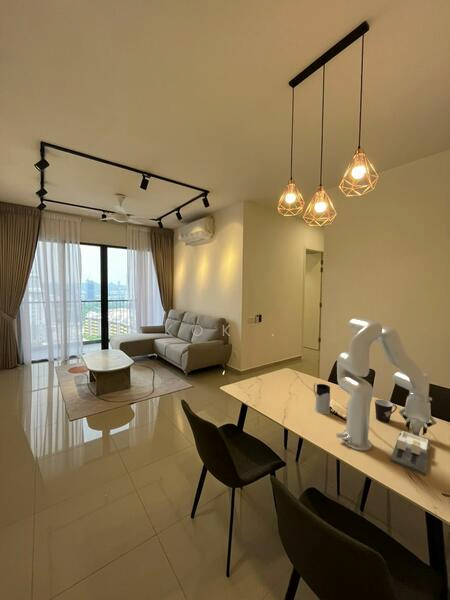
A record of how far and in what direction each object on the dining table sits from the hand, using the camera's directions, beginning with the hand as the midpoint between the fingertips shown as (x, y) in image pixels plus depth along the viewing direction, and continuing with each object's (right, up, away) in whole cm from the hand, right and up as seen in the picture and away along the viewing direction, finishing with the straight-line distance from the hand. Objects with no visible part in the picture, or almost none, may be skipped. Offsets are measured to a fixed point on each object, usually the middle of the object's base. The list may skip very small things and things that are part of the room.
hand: (416, 431), depth 127 cm
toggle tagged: (-11, -2, -14) cm, 18 cm away
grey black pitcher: (-39, 0, +27) cm, 47 cm away
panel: (-12, -3, -13) cm, 18 cm away
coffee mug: (-6, -2, +14) cm, 16 cm away
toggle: (-15, -2, -11) cm, 19 cm away
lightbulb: (0, -3, 0) cm, 3 cm away
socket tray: (-7, -2, -7) cm, 10 cm away
